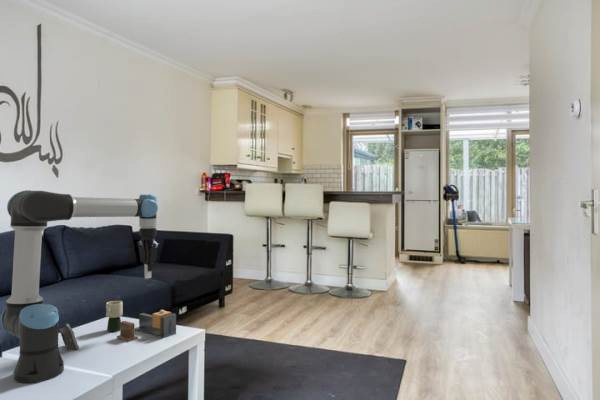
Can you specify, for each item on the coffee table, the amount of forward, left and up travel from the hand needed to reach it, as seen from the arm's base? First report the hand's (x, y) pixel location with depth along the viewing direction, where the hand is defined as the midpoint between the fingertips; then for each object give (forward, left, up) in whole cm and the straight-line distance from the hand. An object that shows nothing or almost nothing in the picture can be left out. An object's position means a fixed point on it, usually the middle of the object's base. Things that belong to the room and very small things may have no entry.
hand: (147, 278), depth 199 cm
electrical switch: (-33, +8, -25) cm, 42 cm away
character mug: (-9, +13, -25) cm, 29 cm away
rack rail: (0, -5, -24) cm, 25 cm away
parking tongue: (-13, -2, -24) cm, 27 cm away
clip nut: (0, -10, -21) cm, 23 cm away
